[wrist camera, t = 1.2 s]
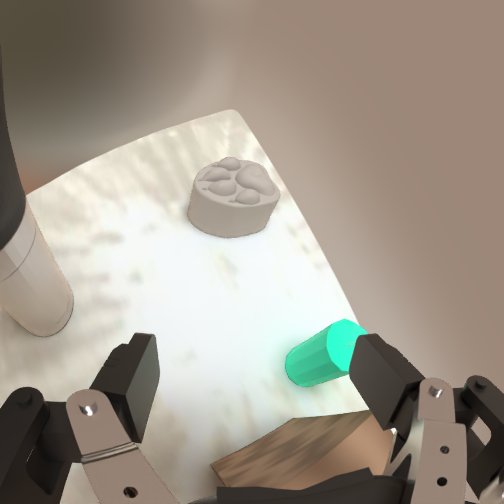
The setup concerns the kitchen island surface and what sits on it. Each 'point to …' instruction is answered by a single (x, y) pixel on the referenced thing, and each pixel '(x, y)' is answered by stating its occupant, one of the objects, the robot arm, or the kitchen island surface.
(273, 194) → the lumpy-topped squat cylinder
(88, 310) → the kitchen island surface
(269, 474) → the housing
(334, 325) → the candle
